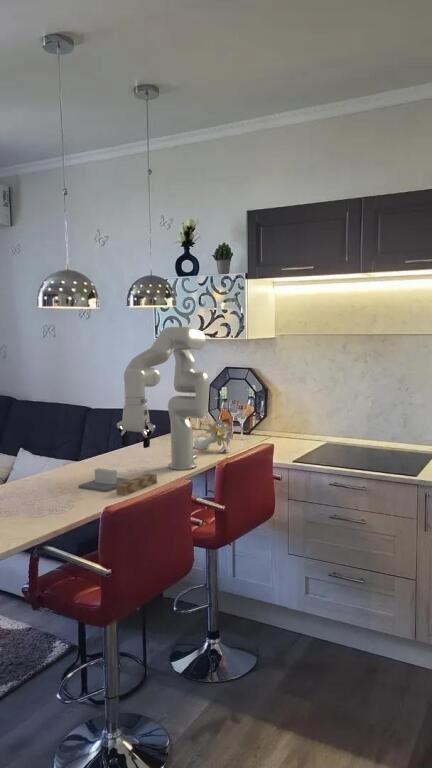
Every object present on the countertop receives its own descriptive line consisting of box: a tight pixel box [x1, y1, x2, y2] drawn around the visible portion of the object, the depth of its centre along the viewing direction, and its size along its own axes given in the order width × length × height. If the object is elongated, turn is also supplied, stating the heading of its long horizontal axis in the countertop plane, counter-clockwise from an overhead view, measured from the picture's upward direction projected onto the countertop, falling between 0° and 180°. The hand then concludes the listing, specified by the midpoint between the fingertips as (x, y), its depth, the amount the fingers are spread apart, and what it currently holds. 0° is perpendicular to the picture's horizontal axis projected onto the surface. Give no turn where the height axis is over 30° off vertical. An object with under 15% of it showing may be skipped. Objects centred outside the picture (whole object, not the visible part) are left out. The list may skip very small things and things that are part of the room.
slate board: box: [78, 468, 131, 493], centre depth 232 cm, size 16×14×6 cm
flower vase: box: [193, 417, 234, 453], centre depth 298 cm, size 13×18×25 cm
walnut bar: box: [116, 472, 158, 497], centre depth 226 cm, size 20×4×4 cm, turn 151°
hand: (136, 446), depth 225 cm, fingers open, 9 cm apart
